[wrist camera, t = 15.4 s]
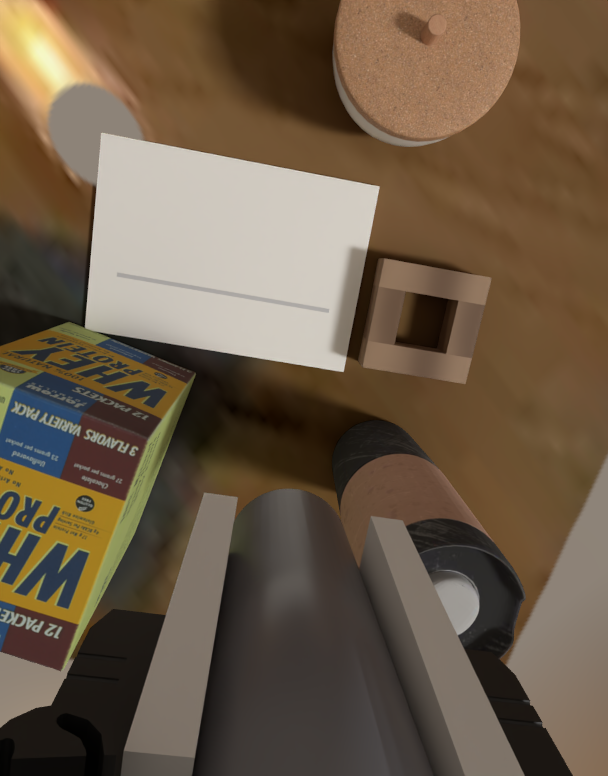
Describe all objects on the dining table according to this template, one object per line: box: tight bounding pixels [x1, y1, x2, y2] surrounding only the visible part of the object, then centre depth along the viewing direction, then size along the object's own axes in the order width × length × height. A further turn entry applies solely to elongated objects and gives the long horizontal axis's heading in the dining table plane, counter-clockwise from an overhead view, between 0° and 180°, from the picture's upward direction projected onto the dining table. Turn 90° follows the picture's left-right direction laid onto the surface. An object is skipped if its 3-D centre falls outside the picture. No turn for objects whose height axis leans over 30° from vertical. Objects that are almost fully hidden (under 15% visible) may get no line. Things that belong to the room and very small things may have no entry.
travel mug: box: [332, 420, 526, 659], centre depth 35 cm, size 8×8×20 cm
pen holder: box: [358, 258, 492, 384], centre depth 41 cm, size 8×8×2 cm
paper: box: [85, 133, 379, 372], centre depth 40 cm, size 20×14×1 cm
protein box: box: [0, 322, 196, 671], centre depth 35 cm, size 10×15×16 cm
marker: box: [192, 489, 434, 776], centre depth 8 cm, size 3×3×15 cm
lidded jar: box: [333, 0, 520, 147], centre depth 34 cm, size 11×11×9 cm
